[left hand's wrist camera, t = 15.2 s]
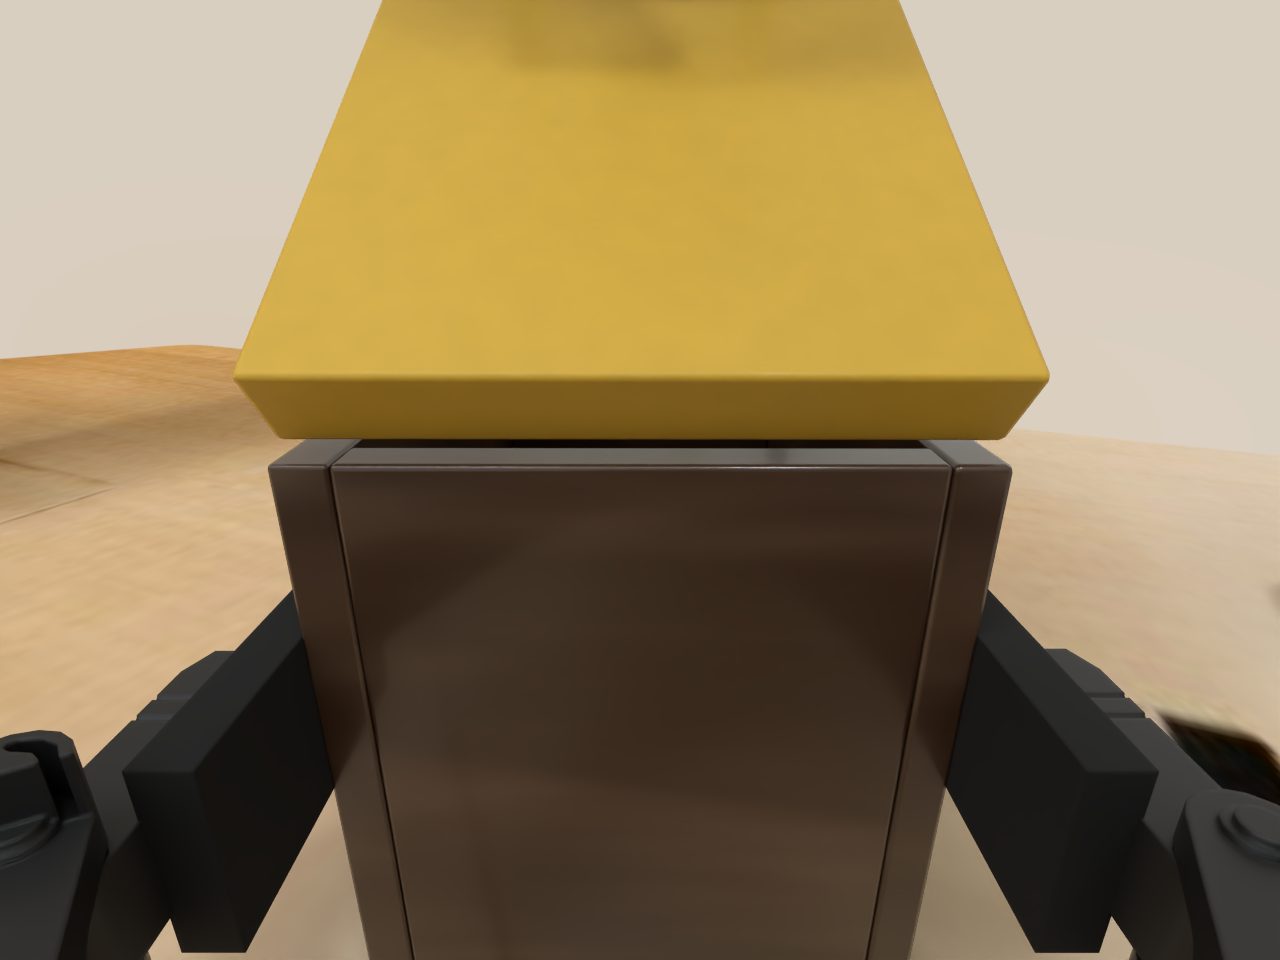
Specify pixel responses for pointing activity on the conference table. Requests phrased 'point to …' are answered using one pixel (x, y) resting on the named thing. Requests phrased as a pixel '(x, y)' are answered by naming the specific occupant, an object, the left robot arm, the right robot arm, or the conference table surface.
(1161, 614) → the conference table surface
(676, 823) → the chest
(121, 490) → the conference table surface
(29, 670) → the conference table surface
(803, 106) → the lid
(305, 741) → the left robot arm
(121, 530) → the conference table surface
